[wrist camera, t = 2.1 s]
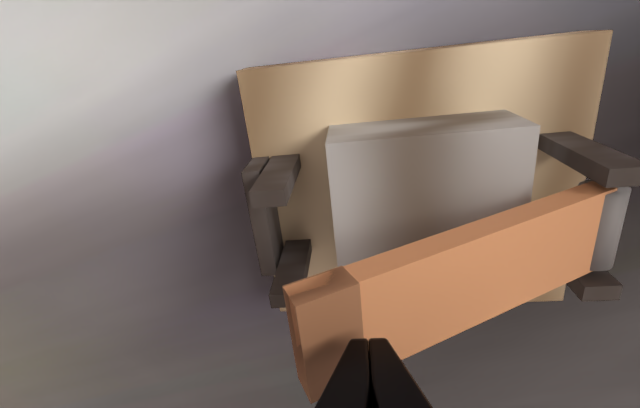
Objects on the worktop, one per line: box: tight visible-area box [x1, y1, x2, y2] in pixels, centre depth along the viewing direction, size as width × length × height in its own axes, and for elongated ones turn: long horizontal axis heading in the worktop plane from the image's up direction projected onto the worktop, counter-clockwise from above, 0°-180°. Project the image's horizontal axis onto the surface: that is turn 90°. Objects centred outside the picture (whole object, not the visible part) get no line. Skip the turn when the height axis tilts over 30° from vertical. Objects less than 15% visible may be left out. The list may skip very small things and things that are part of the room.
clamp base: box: [236, 30, 640, 311], centre depth 15 cm, size 14×12×6 cm
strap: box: [282, 180, 631, 404], centre depth 11 cm, size 12×3×1 cm, turn 97°
